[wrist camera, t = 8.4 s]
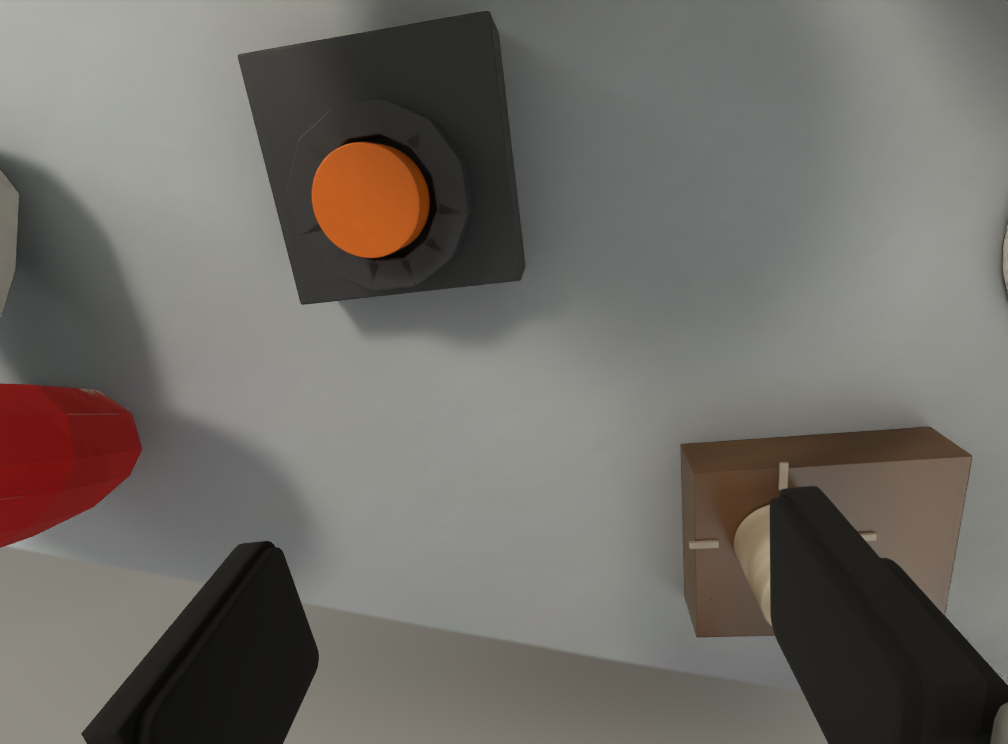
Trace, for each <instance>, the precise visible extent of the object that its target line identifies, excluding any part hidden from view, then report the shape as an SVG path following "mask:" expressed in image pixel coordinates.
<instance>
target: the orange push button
mask: <svg viewBox="0 0 1008 744" xmlns="http://www.w3.org/2000/svg"><path fill="white" fill-rule="evenodd" d="M312 204H313V210H314V213H315V217H316V219H317V221H318V223H319V225H320V227H321V229H322V230H323V232H324V233H325V234H326V236H327V237H328V238H329V239H330V240H331V241H332V242H333V243H334V244H335V245H336V246H338V247H339V248H341V249H342V250H344V251H346V252H348V253H349V254H352V255H355V256H358V257H363V258H378V257H384V256H387V255H389V254H392V253H394V252H396V251H398V250H400V249H402V248H404V247H406V246H407V245H409V244H410V243H412V242H413V241H414V240H415V239H416V238H417V237H418V236H419V234H420V233H421V232H422V230H423V228H424V227H425V224H426V222H427V219H428V215H429V210H430V196H429V190H428V186H427V183H426V180H425V178H424V176H423V174H422V172H421V170H420V169H419V167H418V166H417V165H416V164H415V163H414V161H413V160H412V159H410V158H409V157H408V156H407V155H406V154H404V153H403V152H401V151H399V150H397V149H396V148H393V147H390V146H386V145H382V144H375V143H368V142H354V143H349V144H346V145H343V146H340V147H339V148H337V149H335V150H334V151H332V152H331V153H330V154H329V155H328V156H327V157H326V158H325V159H324V160H323V161H322V163H321V164H320V166H319V167H318V169H317V171H316V174H315V177H314V180H313V185H312Z"/></svg>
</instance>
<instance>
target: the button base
mask: <svg viewBox="0 0 1008 744" xmlns="http://www.w3.org/2000/svg"><path fill="white" fill-rule="evenodd" d="M238 60H239V63H240V67H241V71H242V75H243V79H244V83H245V87H246V91H247V95H248V99H249V103H250V107H251V111H252V114H253V118H254V122H255V126H256V130H257V134H258V138H259V142H260V146H261V150H262V154H263V158H264V161H265V165H266V169H267V173H268V177H269V181H270V185H271V189H272V193H273V197H274V201H275V205H276V208H277V212H278V216H279V220H280V224H281V228H282V232H283V236H284V240H285V244H286V248H287V252H288V255H289V259H290V263H291V267H292V271H293V275H294V279H295V283H296V287H297V291H298V295H299V299H300V302H301V304H302V305H304V304H313V303H322V302H331V301H340V300H349V299H358V298H367V297H376V296H385V295H394V294H403V293H412V292H421V291H430V290H439V289H448V288H457V287H466V286H475V285H484V284H493V283H502V282H511V281H520V280H521V278H522V275H523V273H524V270H525V259H524V250H523V241H522V233H521V224H520V215H519V207H518V198H517V189H516V180H515V172H514V163H513V154H512V146H511V137H510V128H509V120H508V111H507V102H506V93H505V85H504V76H503V67H502V59H501V50H500V41H499V33H498V30H497V28H496V25H495V23H494V21H493V18H492V16H491V14H490V12H489V11H488V10H487V11H481V12H476V13H470V14H464V15H459V16H453V17H447V18H442V19H436V20H431V21H425V22H419V23H414V24H408V25H402V26H397V27H391V28H385V29H380V30H374V31H368V32H363V33H357V34H351V35H346V36H340V37H334V38H329V39H323V40H318V41H312V42H306V43H301V44H295V45H289V46H284V47H278V48H272V49H267V50H261V51H255V52H250V53H244V54H239V55H238ZM354 142H368V143H375V144H382V145H386V146H390V147H393V148H396V149H397V150H399V151H401V152H403V153H404V154H406V155H407V156H408V157H409V158H410V159H412V160H413V161H414V163H415V164H416V165H417V166H418V167H419V169H420V170H421V172H422V174H423V176H424V178H425V180H426V183H427V186H428V190H429V196H430V210H429V215H428V219H427V222H426V224H425V227H424V228H423V230H422V232H421V233H420V234H419V236H418V237H417V238H416V239H415V240H414V241H413V242H412V243H410V244H409V245H407V246H406V247H404V248H402V249H400V250H398V251H396V252H394V253H392V254H389V255H387V256H384V257H378V258H363V257H358V256H355V255H352V254H349V253H348V252H346V251H344V250H342V249H341V248H339V247H338V246H336V245H335V244H334V243H333V242H332V241H331V240H330V239H329V238H328V237H327V236H326V234H325V233H324V232H323V230H322V229H321V227H320V225H319V223H318V221H317V219H316V217H315V213H314V210H313V204H312V185H313V180H314V177H315V174H316V171H317V169H318V167H319V166H320V164H321V163H322V161H323V160H324V159H325V158H326V157H327V156H328V155H329V154H330V153H331V152H332V151H334V150H335V149H337V148H339V147H340V146H343V145H346V144H349V143H354Z"/></svg>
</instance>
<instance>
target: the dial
mask: <svg viewBox="0 0 1008 744" xmlns="http://www.w3.org/2000/svg"><path fill="white" fill-rule="evenodd" d="M734 551H735V554H736V557H737V559H738V561H739V564H740V566H741V568H742V570H743V572H744V574H745V577H746V579H747V581H748V583H749V585H750V587H751V590H752V592H753V594H754V596H755V598H756V600H757V603H758V605H759V607H760V609H761V611H762V613H763V616H764V617H765V619H766V620H767V622H768V623H769V624H770V625H771V626H772V623H771V615H770V505H767V506H764V507H762V508H759V509H757V510H756V511H754V512H752V513H751V514H750V515H748V516H747V517H746V518H745V519H744V520H743V521H742V523H741V524H740V526H739V527H738V529H737V531H736V534H735V537H734Z"/></svg>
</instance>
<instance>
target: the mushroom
mask: <svg viewBox="0 0 1008 744" xmlns="http://www.w3.org/2000/svg"><path fill="white" fill-rule="evenodd" d="M18 204H19V194H18V192H17V191H16V190H15V188H14V187H13V186H12V184H11V183H10V182H9V180H8V179H7V178H6V177H5V175H4V174H3V173H2V171H1V170H0V318H1V315H2V312H3V309H4V305H5V302H6V299H7V296H8V292H9V289H10V286H11V282H12V279H13V276H14V273H15V267H16V246H17V225H18ZM141 451H142V446H141V443H140V439H139V436H138V433H137V429H136V426H135V422H134V419H133V416H132V413H130V412H129V411H127V410H126V409H125V408H123V407H122V406H120V405H119V404H117V403H116V402H115V401H113V400H112V399H110V398H109V397H108V396H106V395H105V394H103V393H102V392H100V391H99V390H95V389H82V388H69V387H56V386H44V385H25V384H0V548H1V547H4V546H6V545H9V544H12V543H15V542H18V541H21V540H24V539H26V538H29V537H32V536H35V535H37V534H39V533H41V532H43V531H45V530H47V529H49V528H51V527H53V526H55V525H57V524H59V523H61V522H63V521H66V520H68V519H70V518H72V517H74V516H76V515H78V514H80V513H82V512H84V511H86V510H88V509H90V508H92V507H94V506H95V505H96V504H97V503H99V502H100V501H101V500H102V499H103V498H104V497H106V496H107V495H108V494H109V493H110V492H111V491H112V490H114V489H115V488H116V487H117V486H118V485H119V484H121V483H122V482H123V481H124V480H125V479H126V478H127V477H129V476H130V474H131V472H132V470H133V468H134V466H135V464H136V462H137V459H138V457H139V455H140V453H141Z"/></svg>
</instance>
